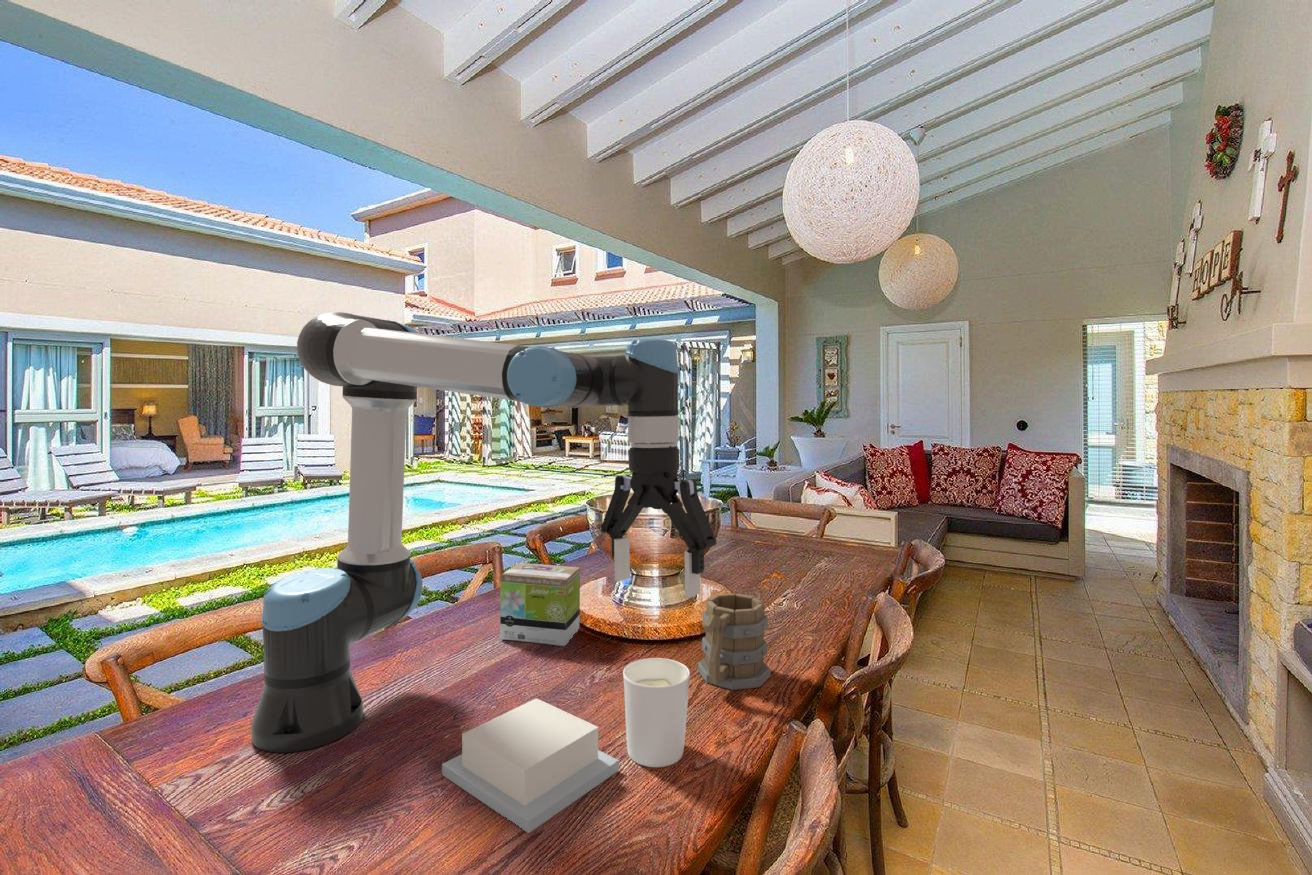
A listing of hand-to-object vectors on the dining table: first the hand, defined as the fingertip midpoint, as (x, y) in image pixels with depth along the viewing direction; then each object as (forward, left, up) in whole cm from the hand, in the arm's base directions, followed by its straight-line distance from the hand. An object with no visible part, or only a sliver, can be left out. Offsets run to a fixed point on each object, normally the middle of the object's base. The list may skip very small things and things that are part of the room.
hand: (656, 587), depth 91 cm
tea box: (-45, +17, -24) cm, 54 cm away
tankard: (-2, +24, -24) cm, 34 cm away
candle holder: (+2, -2, -24) cm, 24 cm away
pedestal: (-8, -17, -24) cm, 30 cm away
